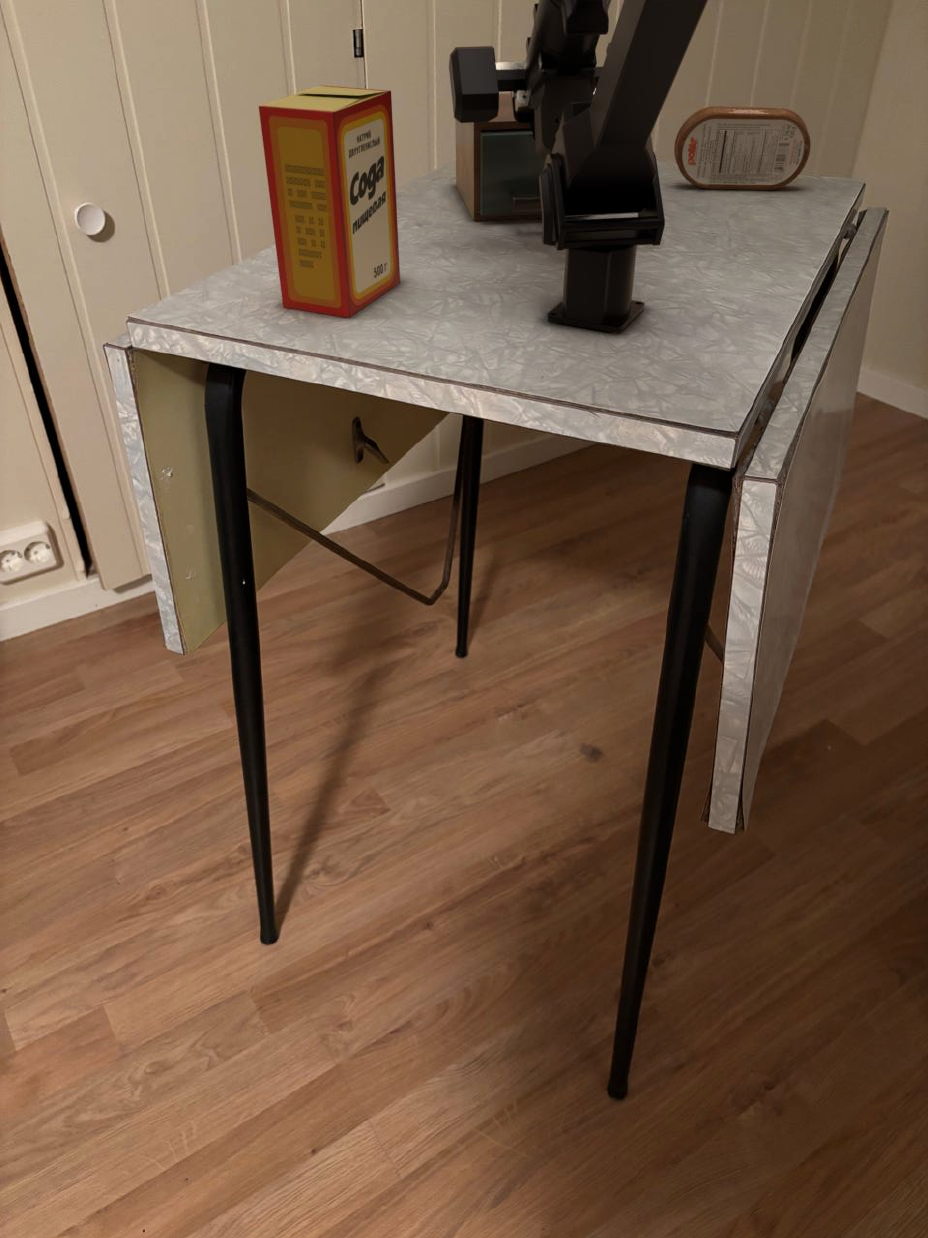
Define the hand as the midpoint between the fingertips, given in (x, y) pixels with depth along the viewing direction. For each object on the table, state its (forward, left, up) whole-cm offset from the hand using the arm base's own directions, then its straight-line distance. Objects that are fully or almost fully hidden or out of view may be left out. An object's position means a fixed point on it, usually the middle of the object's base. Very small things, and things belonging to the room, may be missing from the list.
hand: (537, 136), depth 98 cm
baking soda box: (-27, +7, -9) cm, 29 cm away
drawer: (+4, +3, -8) cm, 9 cm away
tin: (+23, -15, -9) cm, 29 cm away
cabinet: (+7, +5, -8) cm, 12 cm away
